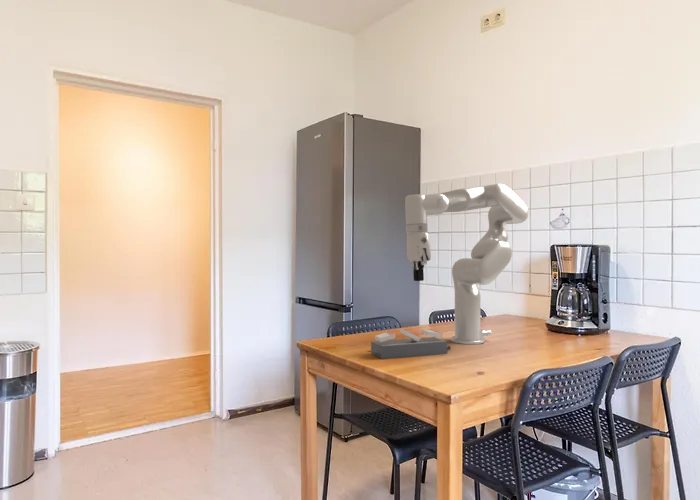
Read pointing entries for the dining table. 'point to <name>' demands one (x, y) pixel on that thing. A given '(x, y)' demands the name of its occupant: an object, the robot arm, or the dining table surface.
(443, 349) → the power strip
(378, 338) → the rocker
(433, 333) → the plate
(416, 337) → the rocker
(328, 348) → the dining table surface
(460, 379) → the dining table surface
